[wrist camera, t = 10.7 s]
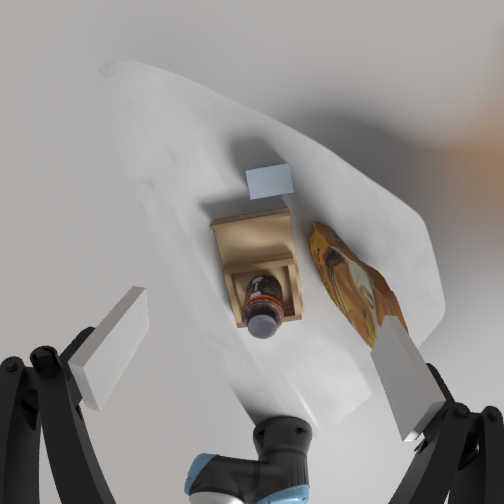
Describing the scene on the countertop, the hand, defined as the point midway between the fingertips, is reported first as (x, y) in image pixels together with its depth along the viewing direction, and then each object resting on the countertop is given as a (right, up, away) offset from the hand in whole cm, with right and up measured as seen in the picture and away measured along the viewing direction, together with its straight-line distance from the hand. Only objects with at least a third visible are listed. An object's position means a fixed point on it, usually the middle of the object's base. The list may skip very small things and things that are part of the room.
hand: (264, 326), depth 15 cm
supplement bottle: (+1, -2, +33) cm, 33 cm away
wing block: (+2, +15, +29) cm, 33 cm away
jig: (+1, +1, +33) cm, 33 cm away
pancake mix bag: (+14, +2, +33) cm, 35 cm away
